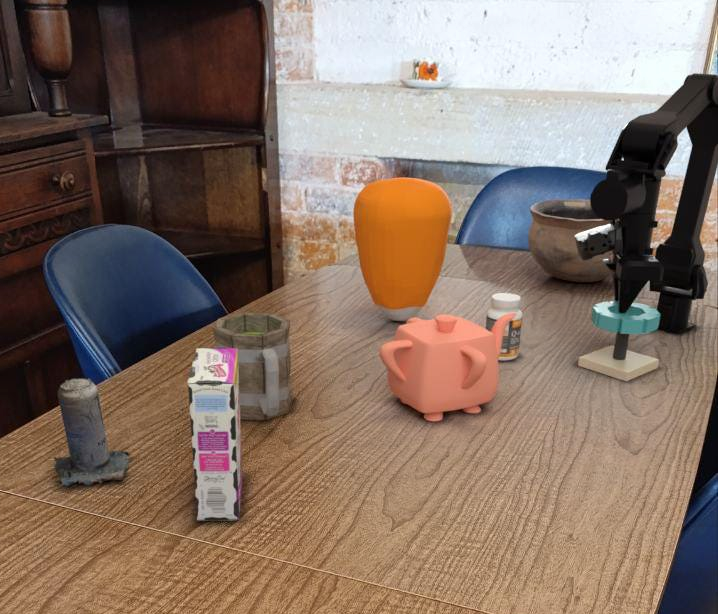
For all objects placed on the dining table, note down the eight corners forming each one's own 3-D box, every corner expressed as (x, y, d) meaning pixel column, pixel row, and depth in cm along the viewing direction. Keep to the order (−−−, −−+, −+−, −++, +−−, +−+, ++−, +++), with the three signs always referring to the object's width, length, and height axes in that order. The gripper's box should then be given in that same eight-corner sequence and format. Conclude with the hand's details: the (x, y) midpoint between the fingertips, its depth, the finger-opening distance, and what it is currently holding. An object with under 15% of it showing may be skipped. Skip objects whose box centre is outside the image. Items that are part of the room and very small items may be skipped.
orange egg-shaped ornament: (337, 328, 156) (337, 182, 144) (372, 302, 170) (374, 167, 158) (429, 341, 150) (437, 190, 139) (457, 314, 164) (467, 174, 153)
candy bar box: (242, 521, 96) (234, 382, 89) (196, 523, 96) (184, 383, 88) (245, 474, 106) (238, 345, 98) (203, 475, 106) (193, 346, 98)
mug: (210, 396, 128) (204, 316, 122) (281, 387, 131) (279, 309, 125) (235, 440, 115) (230, 353, 109) (314, 429, 118) (313, 344, 112)
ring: (614, 310, 144) (616, 297, 143) (668, 325, 137) (671, 311, 136) (579, 322, 138) (581, 309, 137) (634, 338, 131) (636, 324, 130)
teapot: (375, 419, 121) (377, 328, 115) (400, 379, 135) (403, 295, 128) (495, 434, 117) (505, 341, 111) (509, 391, 131) (518, 306, 125)
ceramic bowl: (639, 293, 178) (651, 218, 171) (532, 292, 178) (540, 216, 171) (612, 266, 198) (623, 197, 191) (516, 264, 198) (523, 195, 191)
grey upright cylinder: (61, 493, 101) (45, 397, 96) (53, 465, 107) (38, 373, 102) (140, 480, 105) (129, 386, 99) (128, 453, 111) (117, 363, 105)
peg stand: (609, 353, 146) (615, 312, 143) (657, 368, 141) (665, 326, 137) (577, 365, 141) (583, 323, 138) (626, 381, 135) (633, 338, 132)
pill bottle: (517, 363, 142) (523, 303, 137) (482, 360, 143) (487, 300, 138) (518, 351, 147) (525, 293, 142) (484, 348, 148) (489, 290, 143)
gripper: (572, 197, 141) (560, 292, 149) (594, 222, 125) (579, 327, 132) (642, 199, 141) (627, 294, 148) (673, 224, 125) (654, 329, 132)
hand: (620, 310), depth 140 cm, fingers closed on ring, 2 cm apart
